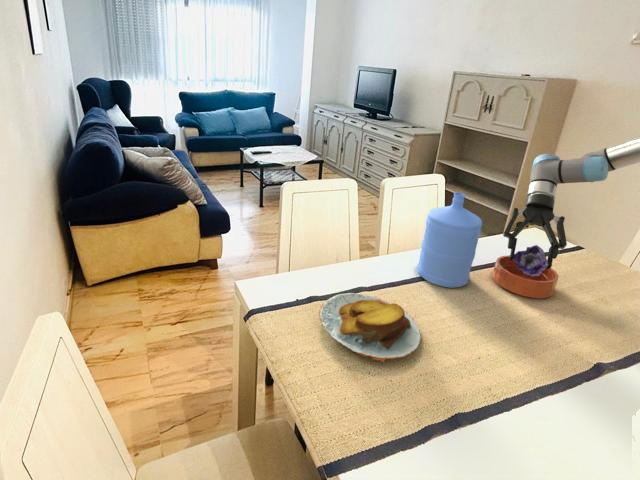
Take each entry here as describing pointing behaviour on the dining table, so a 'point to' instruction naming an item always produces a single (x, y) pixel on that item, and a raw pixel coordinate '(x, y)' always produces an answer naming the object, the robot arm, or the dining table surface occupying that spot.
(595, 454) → the dining table surface
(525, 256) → the flower
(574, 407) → the dining table surface
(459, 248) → the water jug
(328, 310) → the food on plate
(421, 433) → the dining table surface
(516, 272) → the pot
